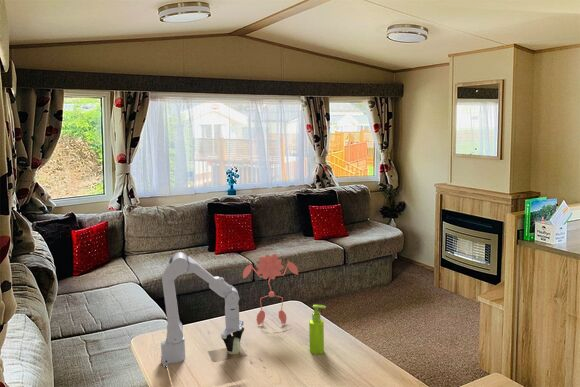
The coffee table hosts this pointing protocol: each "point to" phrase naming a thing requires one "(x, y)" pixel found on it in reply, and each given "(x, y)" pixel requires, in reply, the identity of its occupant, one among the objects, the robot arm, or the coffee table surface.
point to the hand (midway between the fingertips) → (233, 347)
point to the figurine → (270, 269)
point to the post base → (224, 354)
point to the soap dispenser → (316, 331)
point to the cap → (235, 346)
